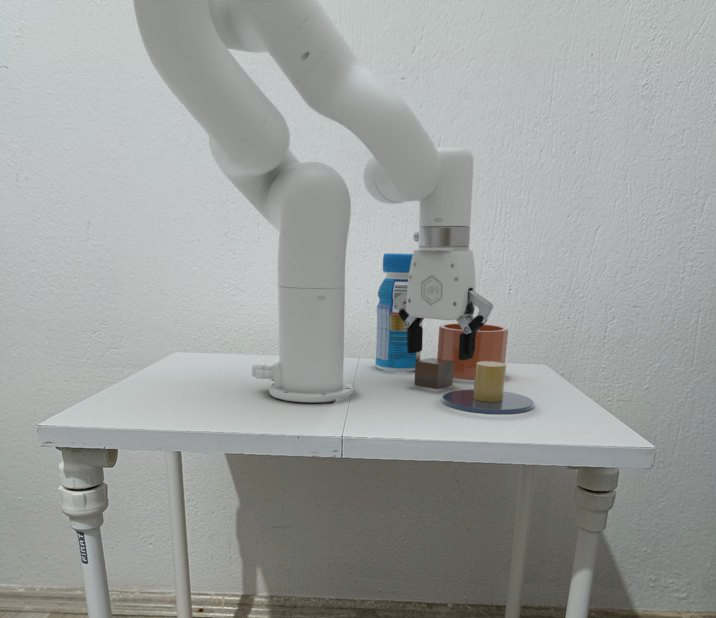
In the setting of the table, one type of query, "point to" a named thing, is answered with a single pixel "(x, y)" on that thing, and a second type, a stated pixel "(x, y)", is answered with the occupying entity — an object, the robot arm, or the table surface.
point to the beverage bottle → (393, 317)
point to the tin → (486, 347)
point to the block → (434, 373)
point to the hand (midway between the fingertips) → (439, 355)
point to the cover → (488, 393)
